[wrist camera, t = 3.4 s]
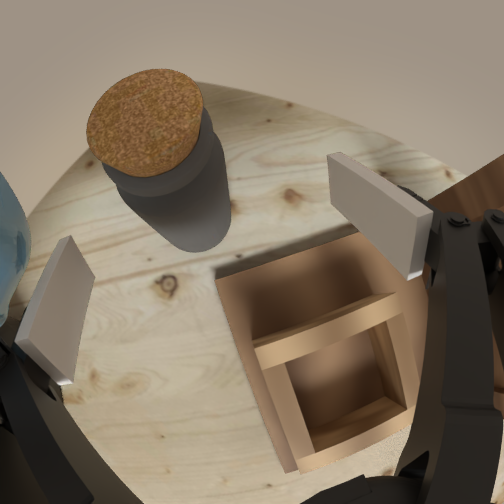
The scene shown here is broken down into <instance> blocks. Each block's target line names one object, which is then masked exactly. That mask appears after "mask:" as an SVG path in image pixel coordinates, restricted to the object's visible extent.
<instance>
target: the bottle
mask: <svg viewBox="0 0 504 504" xmlns="http://www.w3.org/2000/svg"><path fill="white" fill-rule="evenodd" d="M86 134H87V142H88V144H89V147H90V149H91V151H92V153H93V154H94V155H95V156H96V157H97V158H98V159H99V160H100V161H102V165H103V167H104V170H105V172H106V173H107V175H108V176H109V177H110V178H111V180H112V181H113V182H114V183H115V184H116V186H117V190H118V192H119V194H120V196H121V197H122V199H123V200H124V202H125V203H126V204H127V205H128V206H129V207H130V208H131V209H132V210H133V211H134V212H135V213H136V214H137V215H139V216H140V217H141V218H142V219H143V220H144V221H145V222H147V223H148V224H149V225H150V226H151V227H152V228H154V229H155V230H156V231H157V232H158V233H159V234H160V235H162V236H163V237H164V238H165V239H166V240H168V241H169V242H170V243H171V244H173V245H174V246H176V247H177V248H179V249H181V250H184V251H187V252H203V251H206V250H209V249H211V248H213V247H215V246H216V245H217V244H219V243H220V242H221V241H222V239H223V238H224V237H225V235H226V234H227V232H228V229H229V227H230V222H231V208H230V198H229V190H228V181H227V173H226V165H225V158H224V152H223V149H222V146H221V143H220V141H219V139H218V137H217V135H216V134H215V133H214V132H213V127H212V122H211V119H210V116H209V114H208V112H207V110H206V109H205V108H204V106H203V99H202V94H201V92H200V90H199V88H198V86H197V84H196V83H195V82H194V81H193V80H192V79H191V78H189V77H188V76H186V75H185V74H183V73H180V72H177V71H174V70H170V69H151V70H145V71H142V72H139V73H135V74H133V75H131V76H128V77H126V78H124V79H122V80H121V81H119V82H117V83H116V84H115V85H113V86H112V87H111V88H110V89H109V90H107V91H106V92H105V93H104V94H103V96H102V97H101V98H100V99H99V100H98V101H97V103H96V105H95V106H94V108H93V110H92V112H91V114H90V116H89V119H88V123H87V131H86Z"/></svg>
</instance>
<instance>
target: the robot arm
mask: <svg viewBox="0 0 504 504" xmlns="http://www.w3.org/2000/svg"><path fill="white" fill-rule="evenodd" d="M327 162H328V173H329V184H330V198H331V204H332V205H333V206H334V207H335V208H336V209H337V210H338V211H339V212H340V213H341V214H342V215H343V216H344V217H346V218H347V219H348V220H349V221H350V222H351V223H352V224H353V225H354V226H355V227H356V228H357V229H358V230H359V231H360V232H361V233H362V234H363V235H364V236H365V237H366V238H367V239H368V240H369V241H370V242H371V243H372V244H373V245H374V246H375V247H376V248H377V249H378V250H379V251H380V252H381V253H382V254H383V255H384V257H385V258H386V259H387V260H388V261H389V262H390V263H391V264H392V265H393V266H394V267H395V268H396V269H397V270H398V271H399V272H400V274H401V275H402V276H403V277H404V278H405V279H406V280H407V281H408V280H410V279H413V278H415V277H417V276H419V275H421V274H422V272H423V267H424V263H425V262H426V263H427V264H428V265H429V266H430V267H431V268H430V273H429V277H428V281H427V284H426V288H425V289H427V290H428V288H429V298H428V317H427V331H426V341H425V351H424V359H423V367H422V374H421V380H420V386H419V392H418V397H417V403H416V408H415V413H414V417H413V422H412V426H411V430H410V434H409V438H408V440H407V443H406V445H405V447H404V449H403V451H402V453H401V456H400V458H399V461H398V464H397V467H396V471H395V474H394V476H376V477H369V478H365V476H364V474H363V475H360V476H358V477H356V478H354V479H351V480H349V481H346V482H344V483H342V484H339V485H337V486H334V487H331V488H329V489H326V490H323V491H320V492H319V493H317V494H316V495H314V496H312V497H311V498H309V499H307V500H306V501H304V502H302V503H300V504H495V503H490V501H491V497H492V493H493V489H494V485H495V480H496V475H497V470H498V464H499V458H500V451H501V444H502V435H503V415H502V413H501V411H500V410H498V409H496V408H495V407H494V402H493V397H494V353H493V336H492V331H493V334H494V337H495V341H496V344H497V348H498V351H499V355H500V359H501V363H502V367H503V371H504V213H503V212H502V211H500V210H497V209H487V210H486V211H484V216H483V220H482V221H477V222H471V220H470V219H469V218H468V217H466V216H465V215H463V214H460V213H457V212H446V213H443V212H441V211H440V210H439V209H437V208H436V207H434V206H433V205H431V204H430V203H429V202H427V201H426V200H423V198H421V197H420V196H417V194H415V193H414V192H412V191H411V190H409V189H407V188H404V187H401V186H399V185H398V186H396V185H394V184H393V183H391V182H389V181H388V180H386V179H385V178H383V177H382V176H380V175H378V174H377V173H375V172H374V171H372V170H370V169H369V168H367V167H365V166H364V165H362V164H360V163H359V162H357V161H355V160H353V159H352V158H350V157H348V156H346V155H345V154H343V153H341V152H338V153H333V154H329V155H327ZM30 253H31V234H30V229H29V225H28V221H27V219H26V216H25V213H24V211H23V209H22V207H21V205H20V203H19V201H18V199H17V197H16V196H15V194H14V192H13V190H12V189H11V187H10V186H9V184H8V182H7V181H6V180H5V178H4V177H3V175H2V174H1V172H0V504H144V503H143V502H142V501H141V500H140V499H139V498H138V497H137V496H136V495H135V494H134V493H133V492H132V491H131V490H130V489H129V488H128V487H127V486H126V485H125V484H124V483H123V482H122V481H121V480H120V478H119V477H118V476H117V475H116V474H115V473H114V472H113V471H112V469H111V468H110V467H109V466H108V465H107V464H106V462H105V461H104V460H103V459H102V457H101V456H100V455H99V454H98V453H97V451H96V450H95V449H94V447H93V446H92V445H91V444H90V442H89V441H88V440H87V438H86V437H85V435H84V434H83V433H82V431H81V430H80V429H79V427H78V426H77V424H76V423H75V421H74V420H73V418H72V417H71V415H70V414H69V412H68V411H67V409H66V408H65V406H64V405H63V400H62V395H61V390H60V386H59V385H65V384H71V383H73V381H74V374H75V367H76V361H77V355H78V350H79V344H80V339H81V334H82V329H83V324H84V320H85V315H86V311H87V307H88V303H89V298H90V295H91V291H92V287H93V283H94V279H95V276H94V274H93V273H92V271H91V269H90V268H89V266H88V264H87V263H86V261H85V259H84V258H83V256H82V254H81V252H80V251H79V249H78V247H77V245H76V243H75V242H74V240H73V238H72V236H71V235H70V236H67V237H65V238H63V239H60V240H59V242H58V243H57V245H56V247H55V249H54V251H53V253H52V255H51V257H50V259H49V261H48V263H47V265H46V267H45V269H44V271H43V273H42V275H41V277H40V279H39V281H38V284H37V286H36V288H35V290H34V293H33V295H32V297H31V300H30V302H29V304H28V306H27V307H26V309H25V311H24V314H23V316H22V320H21V321H20V322H19V321H17V320H16V319H14V318H11V317H9V316H8V311H9V302H10V300H11V298H12V296H13V294H14V292H15V290H16V288H17V286H18V284H19V282H20V280H21V278H22V276H23V274H24V272H25V270H26V268H27V265H28V262H29V259H30ZM500 260H501V264H502V268H501V269H500V267H499V263H500Z"/></svg>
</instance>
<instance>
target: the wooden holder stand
mask: <svg viewBox="0 0 504 504" xmlns="http://www.w3.org/2000/svg"><path fill="white" fill-rule="evenodd" d="M427 202H429V203H430V204H431V205H433V206H434V207H436V208H437V209H439V210H440V211H441V212H443V213H446V212H457V213H460V214H463V215H465V216H466V217H468V218H469V219H470V220H471V222H477V221H482V220H483V216H484V211H486V210H487V209H497V210H500V211H502V212H503V213H504V154H503V155H501V156H500V157H498V158H497V159H495V160H493V161H492V162H490V163H489V164H487V165H486V166H484V167H482V168H481V169H479V170H478V171H476V172H474V173H473V174H471V175H470V176H468V177H466V178H465V179H463V180H461V181H460V182H458V183H457V184H455V185H453V186H452V187H450V188H448V189H447V190H445V191H443V192H442V193H440V194H438V195H437V196H435V197H433V198H432V199H430V200H428V201H427ZM499 267H500V269H501V268H502V264H501V260H500V263H499ZM430 268H431V267H430V266H429V265H428V264H427V263H426V262H425V263H424V267H423V272H422V274H421V275H419V276H417V277H415V278H413V279H410V280H408V281H407V280H406V279H405V278H404V277H403V276H402V275H401V274H400V272H399V271H398V270H397V269H396V268H395V267H394V266H393V265H392V264H391V263H390V262H389V261H388V260H387V259H386V258H385V257H384V255H383V254H382V253H381V252H380V251H379V250H378V249H377V248H376V247H375V246H374V245H373V244H372V243H371V242H370V241H369V240H368V239H367V238H366V237H365V236H364V235H363V234H362V233H361V232H357V233H354V234H351V235H349V236H346V237H343V238H340V239H337V240H334V241H331V242H328V243H325V244H322V245H319V246H316V247H313V248H310V249H308V250H305V251H302V252H299V253H296V254H293V255H290V256H287V257H284V258H281V259H278V260H275V261H272V262H269V263H266V264H263V265H260V266H257V267H254V268H251V269H247V270H244V271H241V272H238V273H235V274H232V275H229V276H226V277H223V278H220V279H217V280H215V283H216V287H217V290H218V293H219V296H220V299H221V302H222V305H223V308H224V311H225V314H226V317H227V320H228V323H229V326H230V329H231V332H232V334H233V337H234V340H235V343H236V346H237V349H238V352H239V354H240V357H241V360H242V363H243V366H244V368H245V371H246V374H247V377H248V379H249V382H250V385H251V388H252V390H253V393H254V396H255V398H256V401H257V404H258V406H259V409H260V411H261V414H262V417H263V419H264V422H265V424H266V427H267V430H268V432H269V435H270V437H271V440H272V442H273V445H274V447H275V450H276V452H277V455H278V457H279V459H280V462H281V464H282V467H283V469H284V471H285V474H286V473H289V472H292V471H295V470H298V469H299V472H300V474H304V473H307V472H309V471H312V470H315V469H318V468H320V467H323V466H326V465H328V464H331V463H333V462H336V461H338V460H340V459H343V458H345V457H347V456H350V455H352V454H354V453H356V452H359V451H361V450H363V449H365V448H367V447H369V446H371V445H373V444H375V443H377V442H379V441H381V440H383V439H385V438H387V437H389V436H391V435H392V434H394V433H396V432H398V431H400V430H401V429H403V428H405V427H407V426H408V425H410V424H412V422H413V417H414V413H415V408H416V403H417V397H418V392H419V386H420V380H421V374H422V367H423V359H424V351H425V341H426V331H427V317H428V298H429V288H428V290H427V289H425V288H426V284H427V281H428V277H429V273H430ZM492 336H493V353H494V397H493V402H494V407H495V408H496V409H498V410H500V411H501V413H502V415H503V419H504V371H503V367H502V363H501V359H500V355H499V351H498V348H497V344H496V341H495V337H494V334H493V331H492Z"/></svg>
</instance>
